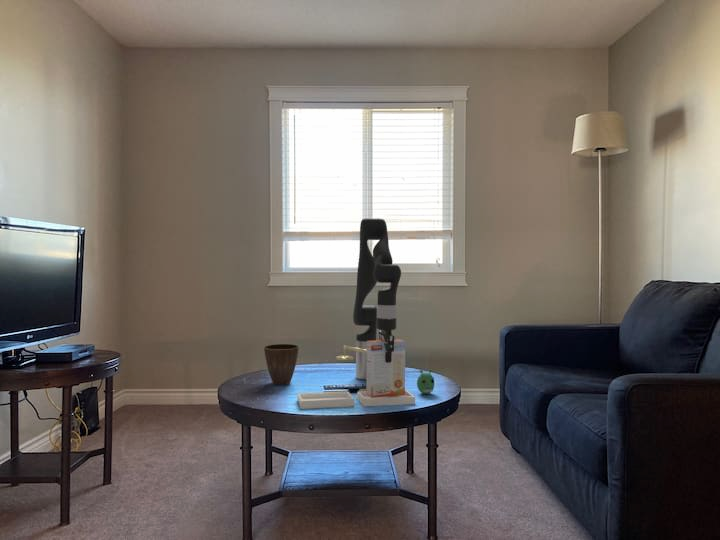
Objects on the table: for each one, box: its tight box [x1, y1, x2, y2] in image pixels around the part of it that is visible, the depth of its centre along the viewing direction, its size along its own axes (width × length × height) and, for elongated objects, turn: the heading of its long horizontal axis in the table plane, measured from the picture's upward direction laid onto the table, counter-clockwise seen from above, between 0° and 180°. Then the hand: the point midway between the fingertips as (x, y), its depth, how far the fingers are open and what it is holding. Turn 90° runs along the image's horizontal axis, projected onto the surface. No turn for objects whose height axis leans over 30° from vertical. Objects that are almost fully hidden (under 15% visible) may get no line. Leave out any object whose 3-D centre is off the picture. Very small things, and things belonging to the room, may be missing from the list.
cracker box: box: [365, 338, 406, 398], centre depth 198 cm, size 14×6×21 cm, turn 109°
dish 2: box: [356, 389, 416, 407], centre depth 198 cm, size 12×20×3 cm, turn 102°
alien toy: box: [416, 368, 435, 395], centre depth 210 cm, size 7×8×10 cm
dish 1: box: [297, 390, 355, 410], centre depth 194 cm, size 12×20×3 cm, turn 102°
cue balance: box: [335, 345, 367, 392], centre depth 209 cm, size 7×27×20 cm, turn 102°
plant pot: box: [263, 343, 300, 386], centre depth 226 cm, size 15×15×16 cm
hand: (386, 360), depth 198 cm, fingers closed on cracker box, 6 cm apart
